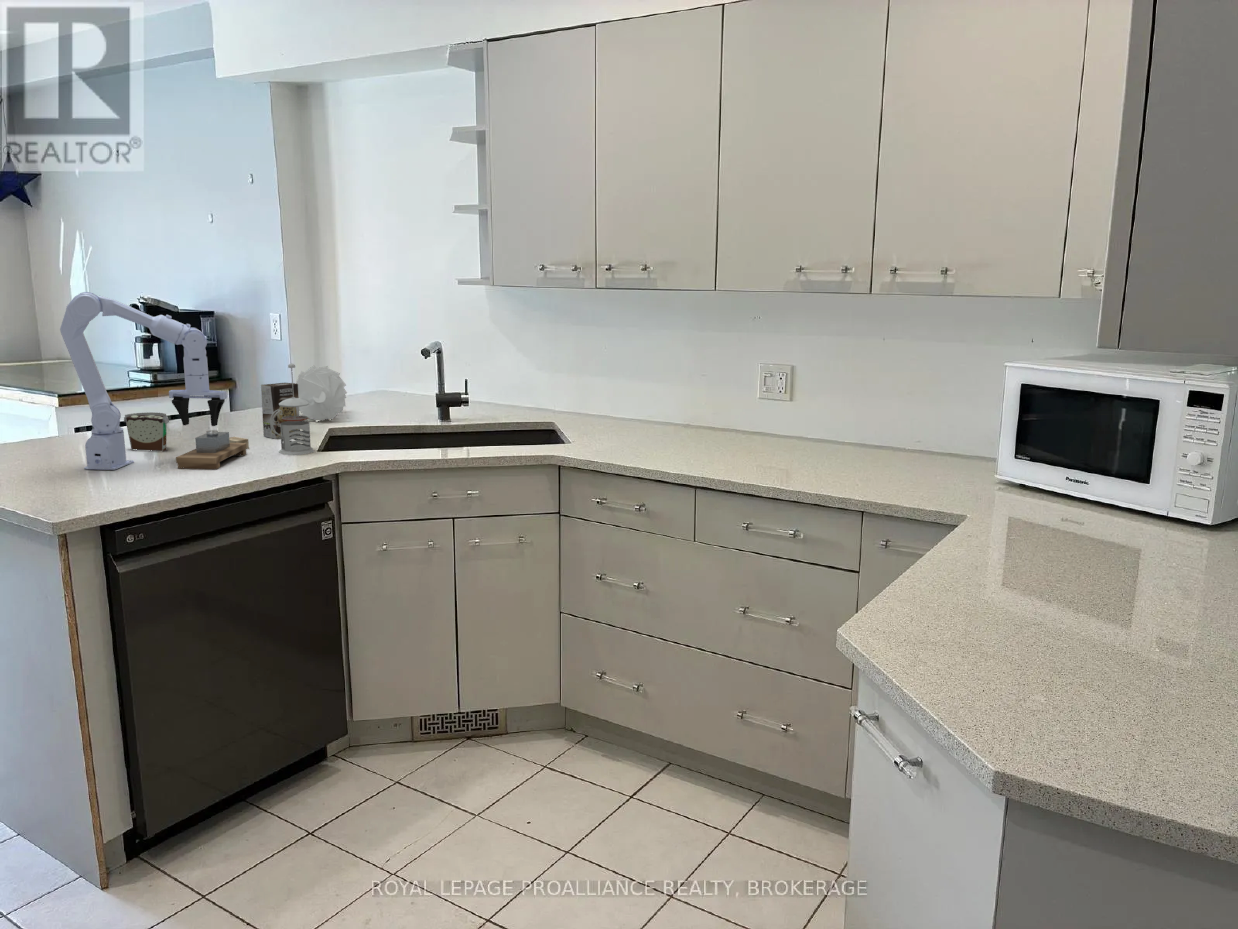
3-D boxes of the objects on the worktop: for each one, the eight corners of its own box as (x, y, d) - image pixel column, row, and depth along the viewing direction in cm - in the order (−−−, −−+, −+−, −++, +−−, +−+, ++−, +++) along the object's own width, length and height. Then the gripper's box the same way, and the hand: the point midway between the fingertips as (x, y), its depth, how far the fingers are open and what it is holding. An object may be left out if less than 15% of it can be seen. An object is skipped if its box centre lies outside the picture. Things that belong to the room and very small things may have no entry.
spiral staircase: (333, 423, 324) (335, 431, 300) (285, 403, 317) (283, 410, 294) (354, 376, 323) (357, 382, 300) (306, 355, 317) (305, 359, 294)
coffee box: (276, 439, 272) (272, 386, 268) (262, 436, 275) (259, 384, 272) (301, 435, 279) (298, 383, 276) (288, 432, 283) (285, 381, 279)
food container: (180, 447, 257) (177, 412, 255) (168, 451, 251) (164, 416, 249) (140, 445, 258) (136, 411, 256) (126, 449, 252) (123, 414, 250)
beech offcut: (237, 451, 255) (236, 441, 254) (223, 449, 257) (222, 438, 257) (249, 449, 258) (248, 438, 257) (235, 446, 261) (234, 436, 260)
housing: (215, 453, 237) (214, 434, 235) (196, 452, 237) (194, 434, 235) (229, 446, 245) (228, 428, 244) (211, 446, 245) (210, 428, 244)
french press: (320, 452, 255) (316, 364, 250) (279, 457, 248) (274, 366, 242) (306, 446, 262) (301, 360, 257) (266, 451, 255) (260, 363, 249)
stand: (215, 469, 231) (214, 458, 231) (176, 468, 231) (175, 457, 231) (247, 453, 251) (246, 443, 250) (211, 452, 251) (210, 442, 250)
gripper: (230, 373, 242) (233, 423, 245) (176, 372, 242) (180, 421, 245) (218, 376, 235) (222, 427, 238) (163, 375, 235) (167, 426, 238)
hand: (200, 425), depth 241 cm, fingers open, 7 cm apart
